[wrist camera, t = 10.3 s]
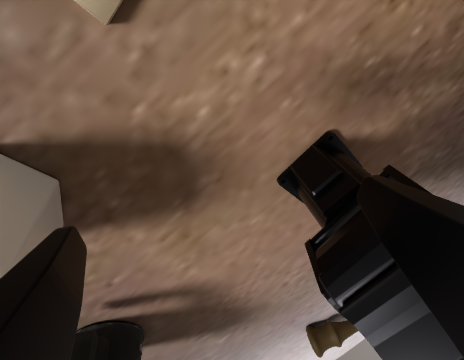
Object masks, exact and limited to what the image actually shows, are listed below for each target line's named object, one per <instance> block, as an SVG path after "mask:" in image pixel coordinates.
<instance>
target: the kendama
mask: <svg viewBox="0 0 464 360" xmlns="http://www.w3.org/2000/svg"><path fill="white" fill-rule="evenodd" d="M357 331H358V329H357V328H356V327H355V326H354V325H353V324H352V323H350V322H349V321H342V322H332V321H330V320H328V321H327V322H326V324H324V325H322V326H319V327H311V326H307V327H306V332H307V336H308V338H309V341H310V344H311V346H312V348H313V350H314V352H315V354H316V355H317V356H318V357H322V356H323V353H324V352H325V351H326V350H327V349H329V348H331V347H334V346H337V347H341V346H342V343H343V341H344V340H345V339H347V338H348V337H350V336H351V335H353V334H354V333H356V332H357Z"/></svg>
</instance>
